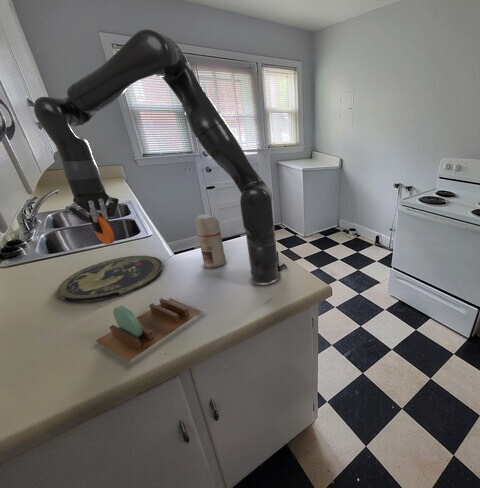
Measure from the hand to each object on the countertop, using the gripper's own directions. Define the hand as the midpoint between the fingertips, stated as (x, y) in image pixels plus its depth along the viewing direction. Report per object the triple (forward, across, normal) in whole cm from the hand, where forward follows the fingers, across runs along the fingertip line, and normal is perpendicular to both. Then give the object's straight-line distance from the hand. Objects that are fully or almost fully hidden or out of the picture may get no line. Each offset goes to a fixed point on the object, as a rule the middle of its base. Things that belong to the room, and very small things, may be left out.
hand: (103, 231), depth 85 cm
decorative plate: (+19, +1, +6) cm, 20 cm away
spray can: (+19, +25, -17) cm, 36 cm away
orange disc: (+4, 0, 0) cm, 4 cm away
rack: (+19, -9, -32) cm, 38 cm away
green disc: (+18, -14, -32) cm, 39 cm away
